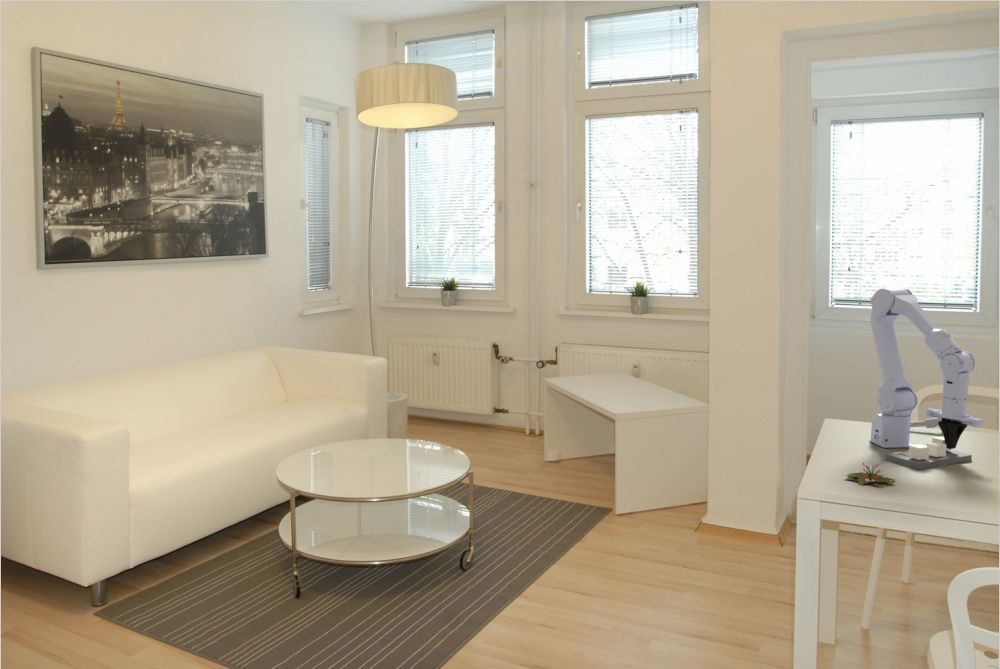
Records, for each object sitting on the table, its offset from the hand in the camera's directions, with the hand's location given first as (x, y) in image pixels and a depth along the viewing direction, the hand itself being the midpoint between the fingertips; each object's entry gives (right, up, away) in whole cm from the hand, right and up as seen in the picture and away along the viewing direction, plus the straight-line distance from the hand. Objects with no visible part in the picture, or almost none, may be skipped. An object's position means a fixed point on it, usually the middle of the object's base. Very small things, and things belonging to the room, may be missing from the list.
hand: (950, 448), depth 220 cm
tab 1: (-1, -1, +3) cm, 3 cm away
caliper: (+6, 0, +31) cm, 31 cm away
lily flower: (-30, -6, -19) cm, 36 cm away
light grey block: (-11, -2, -6) cm, 13 cm away
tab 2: (-6, -1, -3) cm, 7 cm away
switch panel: (-6, -3, -1) cm, 7 cm away
